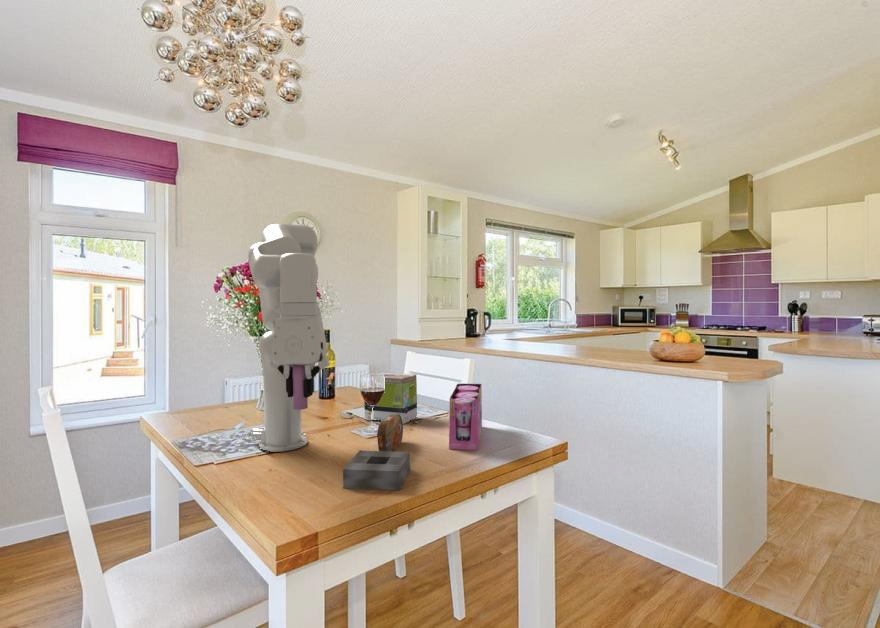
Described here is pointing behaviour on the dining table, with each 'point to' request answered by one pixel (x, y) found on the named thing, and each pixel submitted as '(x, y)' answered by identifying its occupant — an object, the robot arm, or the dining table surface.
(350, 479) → the hole block
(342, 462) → the dining table surface
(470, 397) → the gum box
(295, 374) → the peg
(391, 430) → the tin
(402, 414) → the tea box
